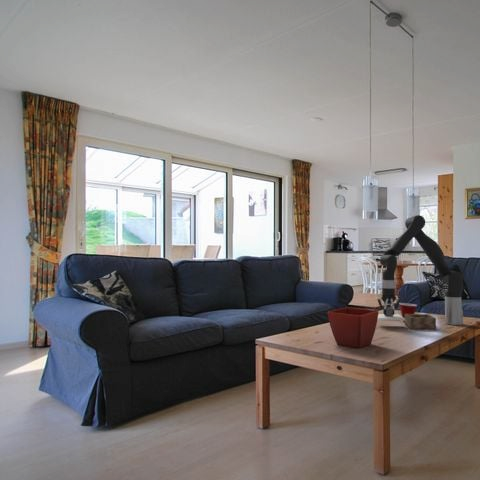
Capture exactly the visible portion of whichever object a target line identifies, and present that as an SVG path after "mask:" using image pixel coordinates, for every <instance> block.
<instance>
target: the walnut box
mask: <svg viewBox="0 0 480 480" xmlns="http://www.w3.org/2000/svg"><path fill="white" fill-rule="evenodd" d="M404 326H405V327H407V328H408V329H410V330H414V331H418V330H419V331H436V330H437V318H436V317H434V316H433V315H430V314H429V313H427V314H425V313H414V314H405V322H404Z"/></svg>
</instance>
